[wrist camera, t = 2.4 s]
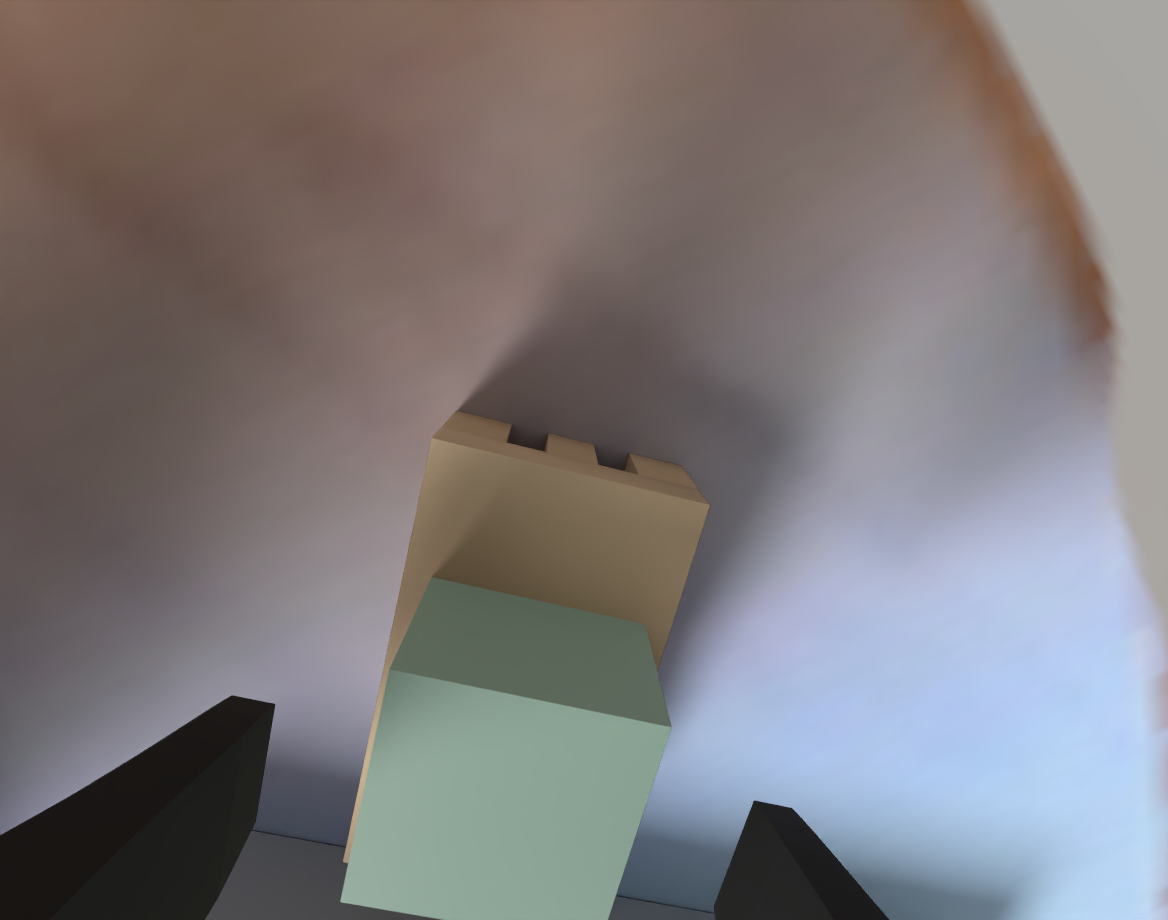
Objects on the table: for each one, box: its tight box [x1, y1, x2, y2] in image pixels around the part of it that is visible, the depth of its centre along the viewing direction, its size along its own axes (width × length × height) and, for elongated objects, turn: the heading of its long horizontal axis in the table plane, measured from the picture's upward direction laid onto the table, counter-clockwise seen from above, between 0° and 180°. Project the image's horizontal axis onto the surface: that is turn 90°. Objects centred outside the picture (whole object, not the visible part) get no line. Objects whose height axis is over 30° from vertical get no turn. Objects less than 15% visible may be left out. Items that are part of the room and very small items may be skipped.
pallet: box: [343, 411, 710, 863], centre depth 14 cm, size 9×5×3 cm, turn 165°
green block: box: [340, 577, 671, 920], centre depth 11 cm, size 4×4×3 cm
